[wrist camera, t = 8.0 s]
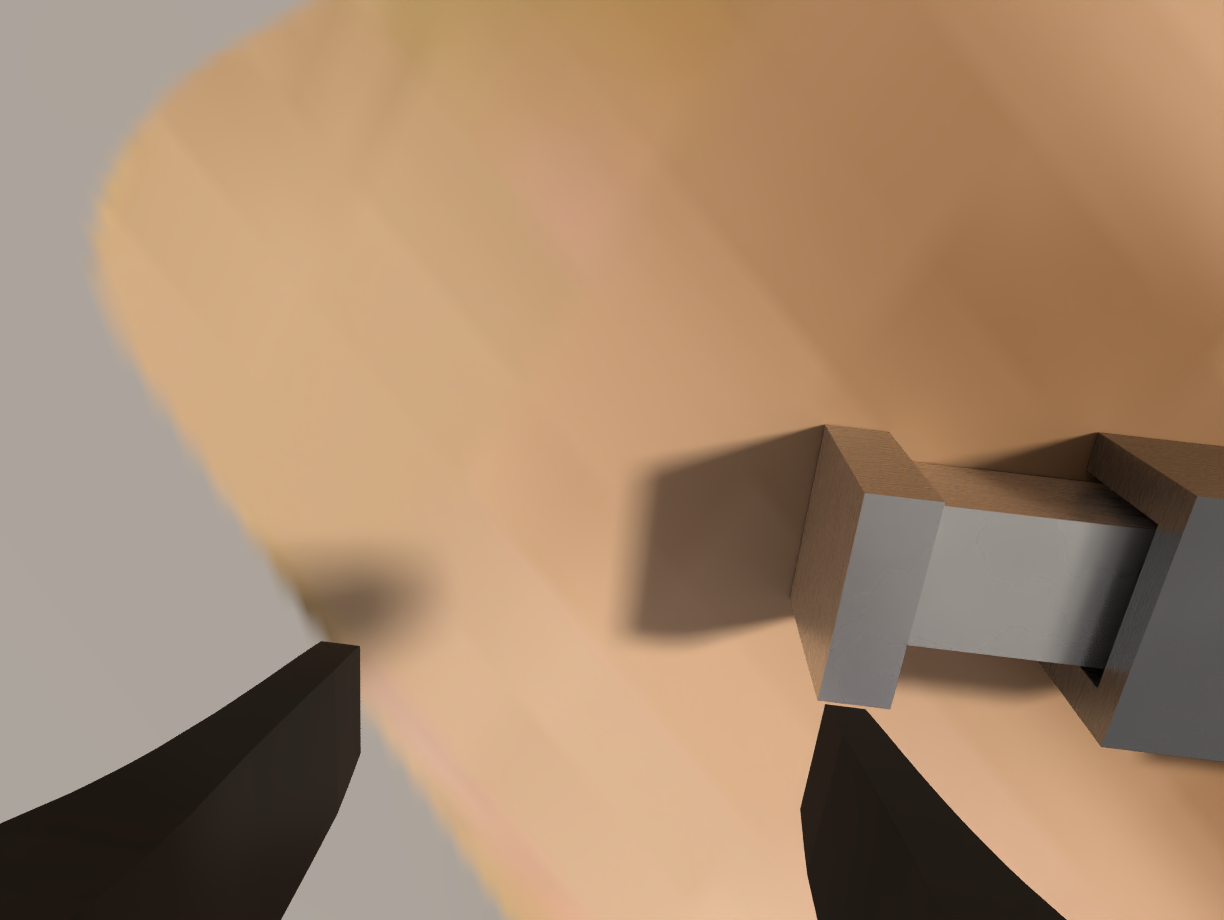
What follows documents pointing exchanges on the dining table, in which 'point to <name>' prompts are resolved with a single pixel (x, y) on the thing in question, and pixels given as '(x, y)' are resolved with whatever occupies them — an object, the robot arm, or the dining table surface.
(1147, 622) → the block
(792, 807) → the dining table surface
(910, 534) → the pin
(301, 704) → the robot arm
